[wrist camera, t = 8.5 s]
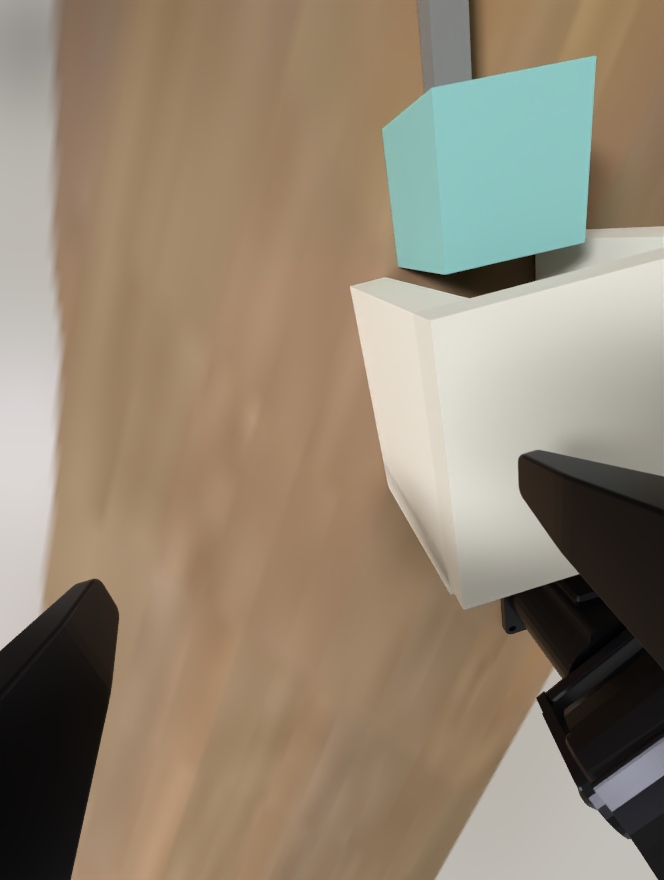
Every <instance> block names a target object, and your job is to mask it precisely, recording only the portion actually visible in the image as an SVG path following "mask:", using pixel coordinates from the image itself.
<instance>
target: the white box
mask: <svg viewBox="0 0 664 880" xmlns="http://www.w3.org/2000/svg"><path fill="white" fill-rule="evenodd" d="M535 272H536V281H534V282H530V283H526V284H523V285H519V286H515V287H511V288H507V289H504V290H500V291H496V292H492V293H488V294H485V295H481V296H477V297H473V298H466V297H462V296H458V295H454V294H450V293H446V292H442V291H438V290H434V289H430V288H426V287H422V286H418V285H414V284H410V283H406V282H402V281H398V280H394V279H390V278H386V277H384V278H380V279H376V280H372V281H368V282H365V283H361V284H357V285H353V286H350V289H351V295H352V300H353V305H354V310H355V316H356V321H357V326H358V331H359V336H360V342H361V347H362V352H363V357H364V363H365V368H366V373H367V378H368V384H369V389H370V394H371V399H372V404H373V410H374V415H375V420H376V425H377V431H378V436H379V441H380V446H381V451H382V457H383V462H384V467H385V472H386V478H387V483H388V487H389V489H390V491H391V492H392V494H393V496H394V498H395V499H396V501H397V503H398V505H399V506H400V508H401V510H402V512H403V513H404V515H405V517H406V519H407V520H408V522H409V524H410V525H411V527H412V529H413V531H414V532H415V534H416V536H417V538H418V539H419V541H420V543H421V545H422V546H423V548H424V550H425V552H426V553H427V555H428V557H429V558H430V560H431V562H432V564H433V565H434V567H435V569H436V571H437V572H438V574H439V576H440V578H441V579H442V581H443V583H444V585H445V586H446V588H447V590H448V591H449V593H450V595H452V594H455V596H456V598H457V599H458V601H459V603H460V604H461V606H462V608H463V610H466V609H469V608H472V607H475V606H478V605H482V604H485V603H488V602H491V601H494V600H498V599H501V598H504V597H507V596H510V595H514V594H517V593H520V592H523V591H526V590H530V589H533V588H536V587H539V586H542V585H546V584H549V583H552V582H555V581H558V580H562V579H565V578H568V577H571V576H574V575H578V574H579V573H578V572H577V570H576V569H575V568H574V567H573V566H572V565H571V564H570V562H569V561H568V560H567V559H566V558H565V557H564V555H563V554H562V553H561V552H560V550H559V549H558V548H557V546H556V545H555V544H554V542H553V541H552V539H551V538H550V536H549V535H548V534H547V532H546V531H545V529H544V528H543V526H542V525H541V524H540V522H539V521H538V519H537V518H536V516H535V515H534V514H533V512H532V511H531V509H530V508H529V506H528V505H527V504H526V502H525V501H524V499H523V498H522V496H521V494H520V491H519V485H518V458H519V456H520V455H521V454H524V453H527V452H530V451H534V450H543V451H548V452H553V453H557V454H562V455H567V456H571V457H576V458H581V459H585V460H590V461H595V462H599V463H604V464H609V465H613V466H618V467H623V468H627V469H632V470H637V471H641V472H646V473H651V474H655V475H660V476H664V226H663V227H637V228H611V229H586V233H585V243H581V244H576V245H572V246H568V247H563V248H559V249H555V250H550V251H546V252H542V253H537V254H535Z"/></svg>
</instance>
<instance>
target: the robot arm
mask: <svg viewBox="0 0 664 880" xmlns="http://www.w3.org/2000/svg"><path fill="white" fill-rule="evenodd" d="M518 485H519V491H520V494H521V496H522V498H523V499H524V501H525V502H526V504H527V505H528V506H529V508H530V509H531V511H532V512H533V514H534V515H535V516H536V518H537V519H538V521H539V522H540V524H541V525H542V526H543V528H544V529H545V531H546V532H547V534H548V535H549V536H550V538H551V539H552V541H553V542H554V544H555V545H556V546H557V548H558V549H559V550H560V552H561V553H562V554H563V555H564V557H565V558H566V559H567V560H568V561H569V562H570V564H571V565H572V566H573V567H574V568H575V569H576V570H577V572H578V573H579V574H578V575H574V576H571V577H568V578H565V579H562V580H558V581H555V582H552V583H549V584H546V585H542V586H539V587H536V588H533V589H530V590H526V591H523V592H520V593H517V594H514V595H510V596H507V597H504V598H501V611H502V626H503V629H504V630H505V632H506V633H507V634H514V633H517V632H520V631H523V630H526V629H527V630H528V632H529V633H530V634H531V636H532V637H533V639H534V640H535V641H536V643H537V644H538V645H539V647H540V648H541V650H542V651H543V652H544V654H545V655H546V657H547V658H548V659H549V661H550V662H551V663H552V665H553V666H554V668H555V669H556V670H557V672H558V673H559V675H560V676H561V677H562V680H561V681H559V682H558V683H557V684H556V685H554V686H553V687H552V688H551V689H549V690H548V691H547V692H543V693H541V694H540V695H539V696H538V697H536V698H537V701H538V703H539V705H540V707H541V709H542V711H543V713H542V714H543V717H544V719H545V720H546V723H547V725H548V727H549V729H550V731H551V733H552V736H553V738H554V739H555V742H556V744H557V746H558V748H559V750H560V752H561V755H562V757H563V759H564V760H565V763H566V765H567V767H568V769H569V771H570V773H571V776H572V778H573V780H574V782H575V783H576V785H577V788H578V791H579V794H580V796H581V798H582V799H583V801H584V802H585V803H586V804H587V805H588V806H589V807H591V808H594V809H596V810H598V811H599V812H600V813H601V815H602V816H603V817H604V818H605V819H606V821H607V822H608V823H609V824H610V825H611V826H612V827H613V828H614V829H615V830H617V831H618V832H619V833H620V834H621V835H623V836H624V837H626V838H627V839H632V841H633V842H634V844H635V845H636V846H637V848H638V849H639V851H640V852H641V854H642V856H643V857H644V859H645V860H646V862H647V863H648V865H649V866H650V868H651V869H652V871H653V872H654V874H655V876H656V877H657V878H658V880H664V476H660V475H655V474H651V473H646V472H641V471H637V470H632V469H627V468H623V467H618V466H613V465H609V464H604V463H599V462H595V461H590V460H585V459H581V458H576V457H571V456H567V455H562V454H557V453H553V452H548V451H543V450H534V451H530V452H527V453H524V454H521V455H520V456H519V458H518ZM118 624H119V612H118V608H117V606H116V604H115V603H114V601H113V599H112V598H111V596H110V594H109V593H108V591H107V590H106V588H105V586H104V585H103V583H102V582H101V581H100V580H98V579H91V580H88V581H84V582H81V583H77V584H76V585H74V586H73V587H72V588H70V589H69V590H68V591H67V592H66V593H65V594H64V595H63V596H61V597H60V598H59V599H58V600H57V601H56V602H55V603H54V604H52V605H51V606H50V607H49V608H48V609H47V610H46V611H45V612H43V613H42V614H41V615H40V616H39V617H38V618H37V619H36V620H35V621H33V622H32V623H31V624H30V625H29V626H28V627H27V628H26V629H24V630H23V631H22V632H21V633H20V634H19V635H18V636H16V637H15V638H14V639H13V640H12V641H11V642H10V643H9V644H7V645H6V646H5V647H4V648H3V649H2V650H1V651H0V880H71V876H72V871H73V867H74V862H75V857H76V853H77V848H78V843H79V839H80V834H81V829H82V825H83V820H84V816H85V811H86V806H87V802H88V797H89V792H90V788H91V783H92V778H93V774H94V769H95V765H96V760H97V755H98V751H99V746H100V741H101V737H102V732H103V727H104V723H105V718H106V714H107V709H108V704H109V699H110V694H111V687H112V680H113V671H114V661H115V652H116V642H117V633H118Z"/></svg>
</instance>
